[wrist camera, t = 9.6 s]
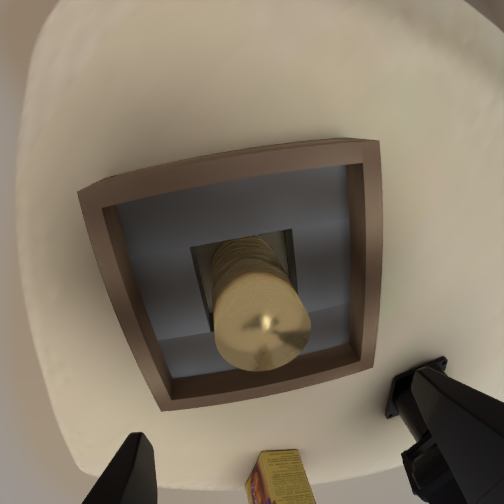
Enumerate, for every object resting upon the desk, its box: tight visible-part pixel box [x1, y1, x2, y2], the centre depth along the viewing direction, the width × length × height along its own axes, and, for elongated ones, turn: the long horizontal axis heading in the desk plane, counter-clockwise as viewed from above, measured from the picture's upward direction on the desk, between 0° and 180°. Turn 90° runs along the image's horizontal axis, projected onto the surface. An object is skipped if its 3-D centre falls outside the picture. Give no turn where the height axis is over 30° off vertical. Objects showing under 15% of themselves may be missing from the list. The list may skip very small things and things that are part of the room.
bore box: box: [77, 138, 383, 412], centre depth 17 cm, size 14×14×4 cm
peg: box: [211, 236, 311, 371], centre depth 16 cm, size 4×4×7 cm
